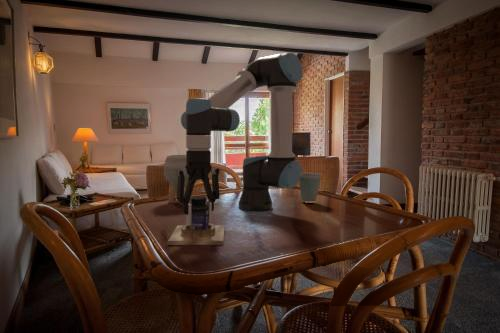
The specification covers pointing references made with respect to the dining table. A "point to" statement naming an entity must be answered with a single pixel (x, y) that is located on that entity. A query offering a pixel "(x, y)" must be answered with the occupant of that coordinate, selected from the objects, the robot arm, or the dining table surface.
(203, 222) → the pill bottle
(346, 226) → the dining table surface
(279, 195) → the dining table surface
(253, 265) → the dining table surface
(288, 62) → the robot arm
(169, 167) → the planter
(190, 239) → the square socket plate
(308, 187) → the disposable coffee cup
